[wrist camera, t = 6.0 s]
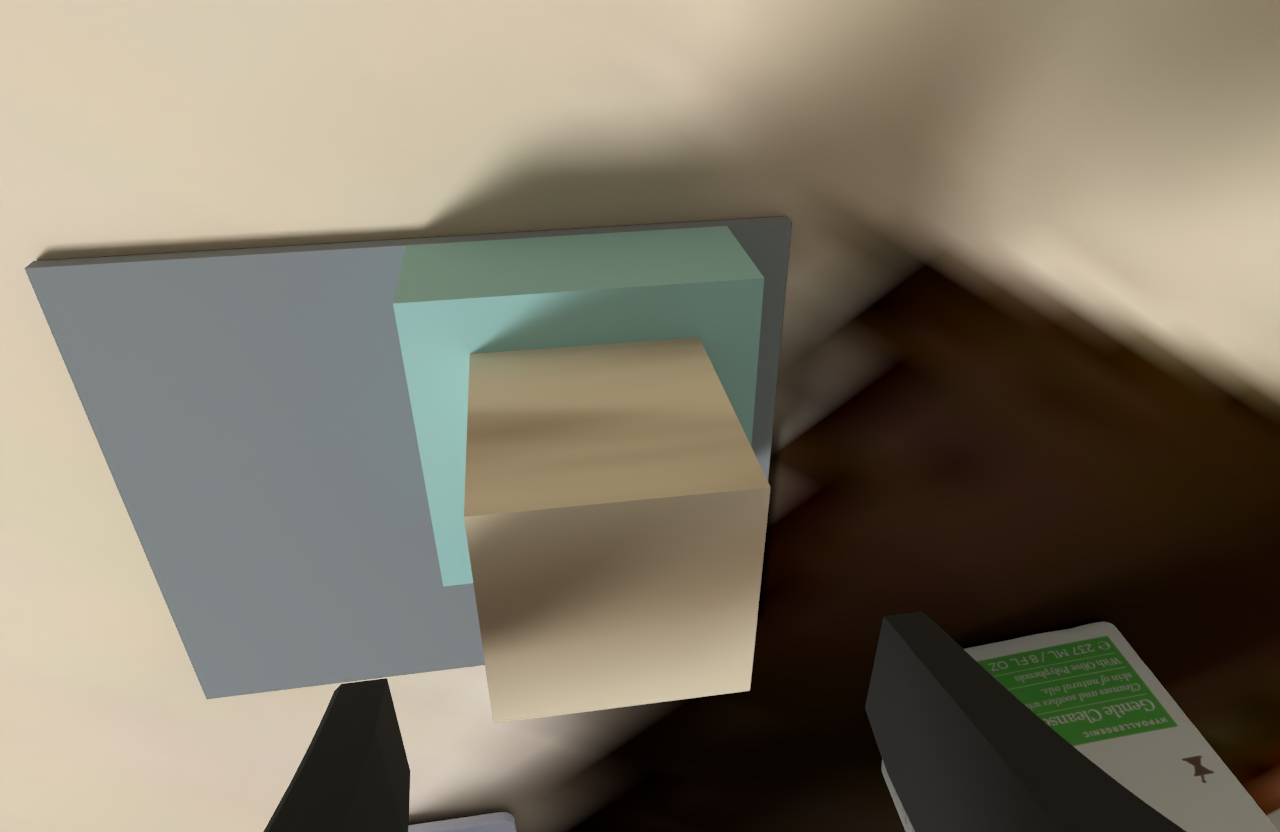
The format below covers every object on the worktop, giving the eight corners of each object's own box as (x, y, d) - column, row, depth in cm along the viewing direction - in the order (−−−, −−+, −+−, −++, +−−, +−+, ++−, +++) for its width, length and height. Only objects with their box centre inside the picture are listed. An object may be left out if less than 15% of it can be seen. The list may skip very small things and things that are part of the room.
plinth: (714, 478, 22) (743, 553, 20) (448, 505, 22) (443, 586, 19) (726, 226, 19) (764, 277, 16) (406, 245, 18) (393, 303, 15)
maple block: (691, 514, 19) (749, 691, 15) (492, 534, 18) (493, 723, 14) (699, 337, 17) (770, 487, 12) (469, 353, 16) (463, 516, 12)
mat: (750, 622, 26) (753, 631, 26) (210, 687, 24) (206, 698, 24) (786, 215, 19) (791, 222, 19) (33, 261, 17) (24, 268, 17)
